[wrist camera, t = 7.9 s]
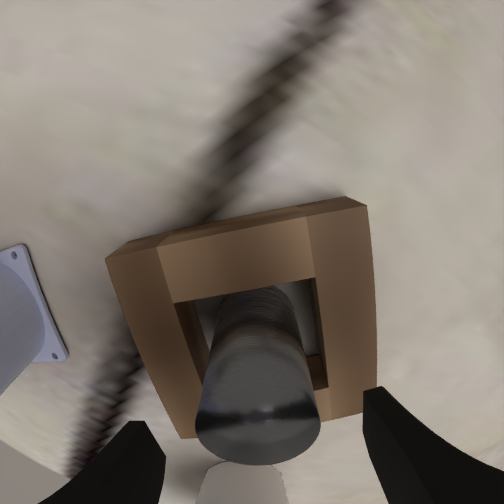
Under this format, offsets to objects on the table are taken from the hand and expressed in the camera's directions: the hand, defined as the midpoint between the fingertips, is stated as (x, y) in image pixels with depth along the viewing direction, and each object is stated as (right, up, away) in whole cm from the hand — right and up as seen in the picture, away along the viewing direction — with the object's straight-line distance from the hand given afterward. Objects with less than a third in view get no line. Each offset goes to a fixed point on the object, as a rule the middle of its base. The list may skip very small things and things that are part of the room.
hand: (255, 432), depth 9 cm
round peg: (0, +2, +8) cm, 8 cm away
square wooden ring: (0, +2, +8) cm, 8 cm away
